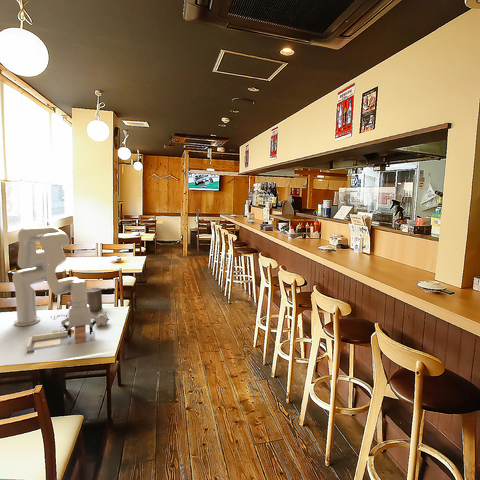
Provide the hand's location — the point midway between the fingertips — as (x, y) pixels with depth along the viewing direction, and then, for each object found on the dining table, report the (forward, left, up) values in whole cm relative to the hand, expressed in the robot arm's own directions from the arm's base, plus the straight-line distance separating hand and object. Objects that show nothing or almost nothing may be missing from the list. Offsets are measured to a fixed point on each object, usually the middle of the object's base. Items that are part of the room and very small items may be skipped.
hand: (80, 334), depth 170 cm
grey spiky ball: (-14, +11, -3) cm, 18 cm away
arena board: (0, -8, -3) cm, 8 cm away
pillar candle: (-44, +8, -3) cm, 45 cm away
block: (0, 0, -2) cm, 2 cm away
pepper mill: (-46, -3, -3) cm, 46 cm away
